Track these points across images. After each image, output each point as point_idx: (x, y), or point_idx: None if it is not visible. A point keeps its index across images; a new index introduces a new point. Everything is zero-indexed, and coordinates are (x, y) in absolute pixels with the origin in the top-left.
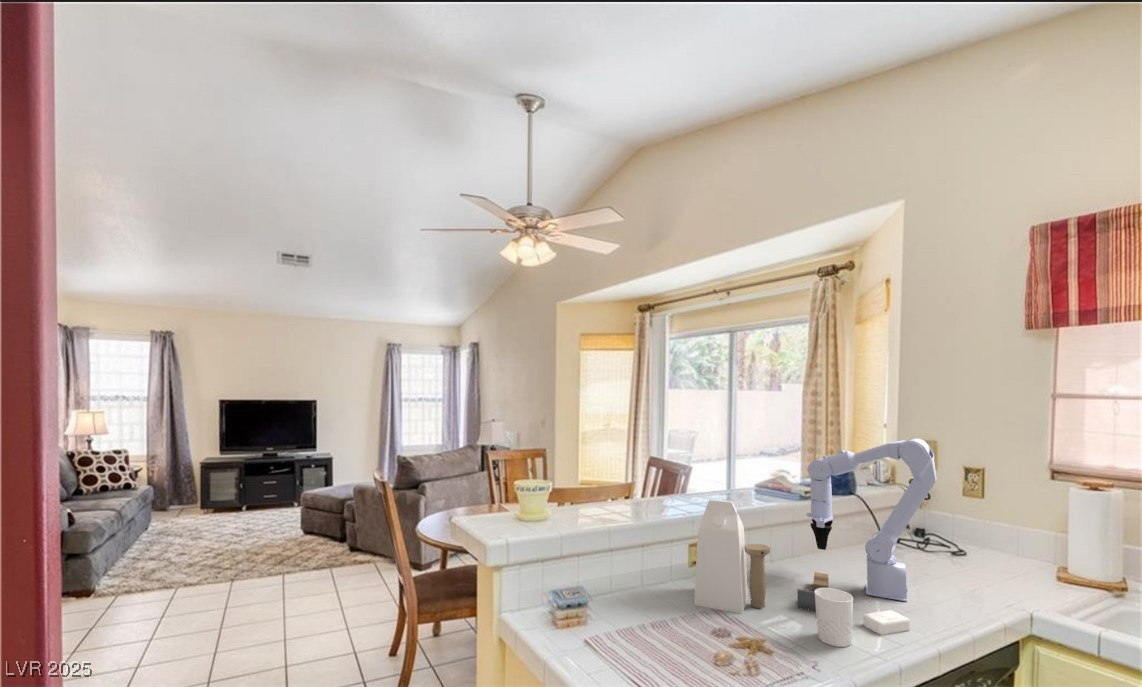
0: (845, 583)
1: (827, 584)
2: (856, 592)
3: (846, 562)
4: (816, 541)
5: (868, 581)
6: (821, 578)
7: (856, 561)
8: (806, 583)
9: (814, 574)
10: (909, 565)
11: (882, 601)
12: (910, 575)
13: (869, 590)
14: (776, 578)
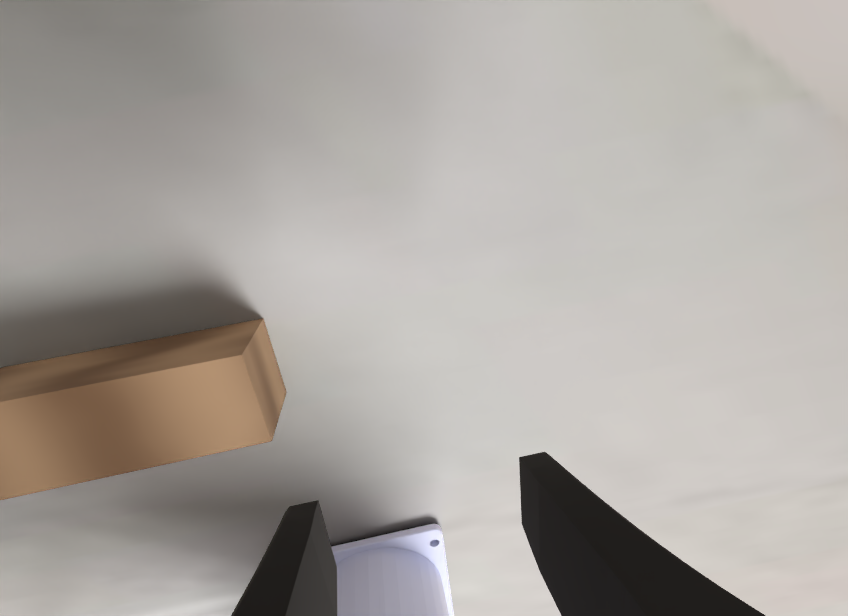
0: (406, 446)
1: (21, 492)
2: None
3: (767, 374)
4: (240, 604)
5: (342, 605)
6: (125, 430)
7: (799, 408)
8: (230, 271)
9: (180, 368)
10: (806, 568)
11: None
12: None
13: (336, 565)
14: (149, 29)
